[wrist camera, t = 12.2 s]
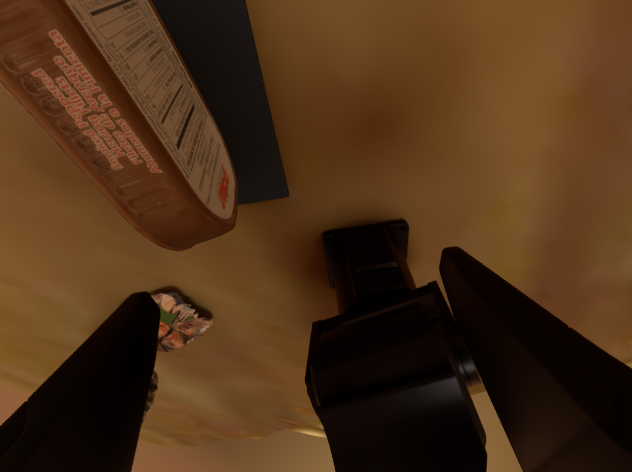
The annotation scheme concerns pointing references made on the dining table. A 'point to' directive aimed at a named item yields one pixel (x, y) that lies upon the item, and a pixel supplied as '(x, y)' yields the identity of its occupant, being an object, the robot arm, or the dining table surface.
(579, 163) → the dining table surface
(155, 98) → the tin
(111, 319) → the robot arm
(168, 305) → the plant with pod
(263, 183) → the placemat
